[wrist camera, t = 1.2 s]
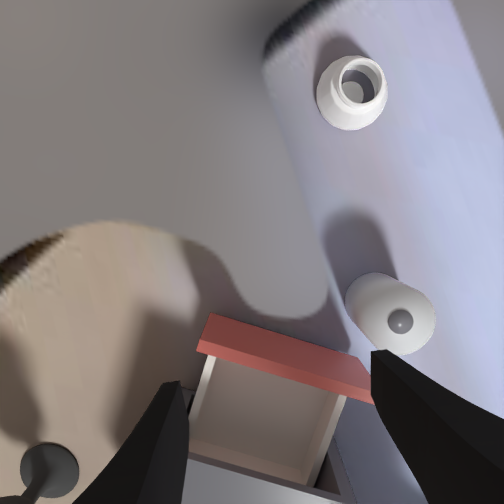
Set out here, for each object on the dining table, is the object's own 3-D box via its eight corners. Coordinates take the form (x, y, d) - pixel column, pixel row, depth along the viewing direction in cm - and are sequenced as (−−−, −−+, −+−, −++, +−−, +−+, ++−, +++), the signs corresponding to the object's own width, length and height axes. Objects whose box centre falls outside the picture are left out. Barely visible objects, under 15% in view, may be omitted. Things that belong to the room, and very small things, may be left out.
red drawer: (357, 357, 27) (383, 395, 22) (313, 476, 29) (327, 539, 23) (210, 312, 27) (199, 339, 22) (172, 435, 28) (153, 489, 23)
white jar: (304, 78, 26) (331, 142, 26) (311, 62, 23) (341, 134, 23) (368, 48, 26) (393, 113, 26) (382, 27, 23) (411, 101, 23)
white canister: (411, 282, 28) (447, 299, 22) (391, 336, 28) (421, 364, 23) (356, 264, 27) (379, 278, 22) (336, 319, 28) (355, 344, 23)
